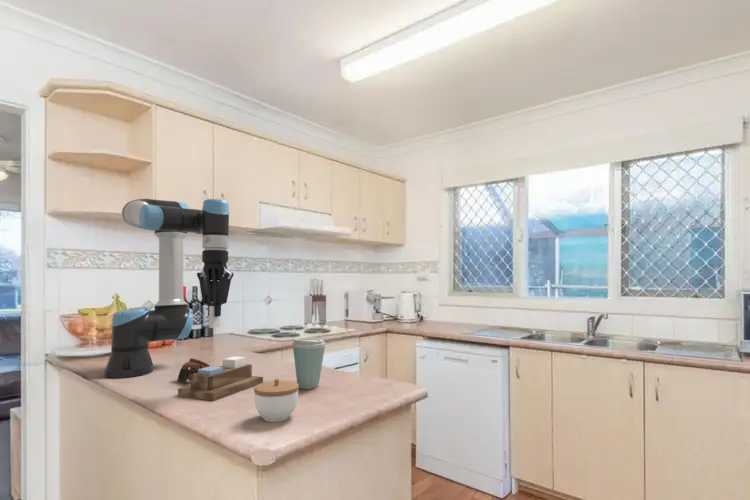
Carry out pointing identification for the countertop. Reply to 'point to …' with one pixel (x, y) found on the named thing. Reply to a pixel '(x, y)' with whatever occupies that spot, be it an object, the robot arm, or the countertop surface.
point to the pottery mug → (194, 367)
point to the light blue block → (210, 370)
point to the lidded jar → (276, 399)
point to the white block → (234, 362)
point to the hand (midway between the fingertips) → (214, 327)
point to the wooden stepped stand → (220, 383)
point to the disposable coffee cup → (308, 361)
